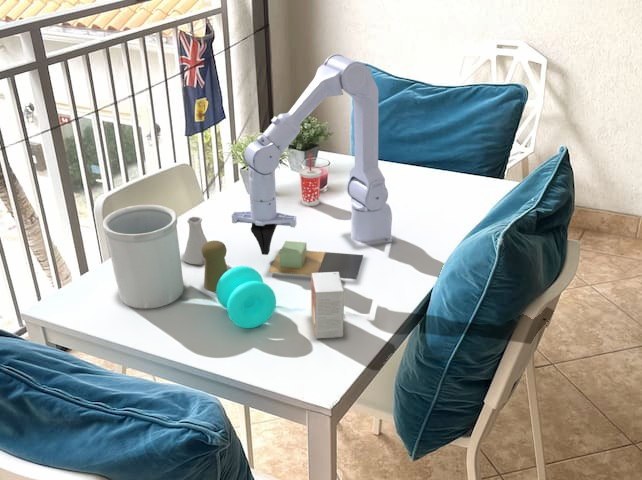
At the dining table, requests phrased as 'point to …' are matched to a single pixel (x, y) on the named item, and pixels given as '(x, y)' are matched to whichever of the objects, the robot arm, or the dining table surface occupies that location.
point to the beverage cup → (310, 184)
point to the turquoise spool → (246, 297)
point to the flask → (195, 242)
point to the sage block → (293, 254)
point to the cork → (214, 263)
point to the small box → (327, 304)
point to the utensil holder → (145, 255)
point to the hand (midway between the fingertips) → (265, 252)
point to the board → (323, 264)
